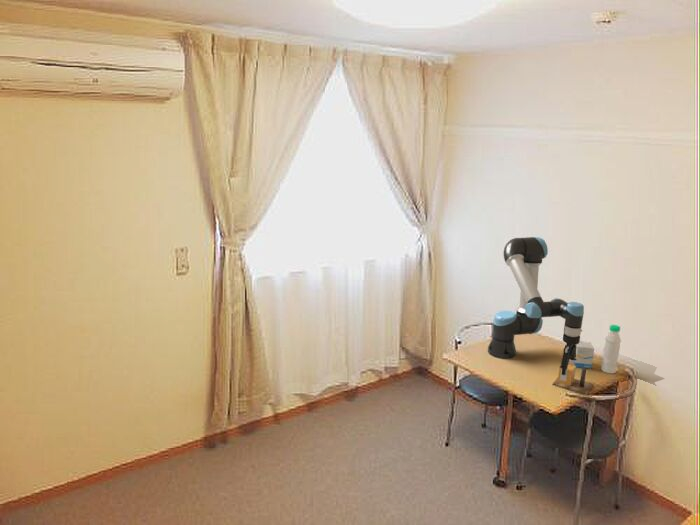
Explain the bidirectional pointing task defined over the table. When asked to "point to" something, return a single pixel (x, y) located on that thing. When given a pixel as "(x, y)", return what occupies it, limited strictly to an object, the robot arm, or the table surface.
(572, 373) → the orange rectangular block
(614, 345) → the water bottle
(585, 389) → the pigtail board
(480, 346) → the table surface
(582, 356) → the ink box
